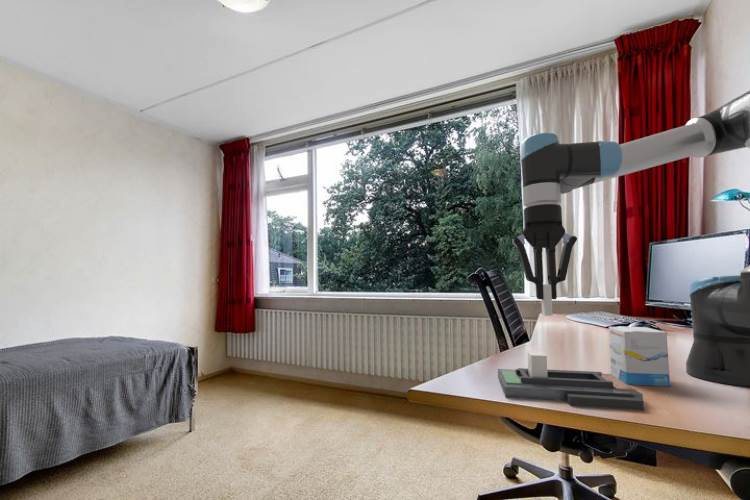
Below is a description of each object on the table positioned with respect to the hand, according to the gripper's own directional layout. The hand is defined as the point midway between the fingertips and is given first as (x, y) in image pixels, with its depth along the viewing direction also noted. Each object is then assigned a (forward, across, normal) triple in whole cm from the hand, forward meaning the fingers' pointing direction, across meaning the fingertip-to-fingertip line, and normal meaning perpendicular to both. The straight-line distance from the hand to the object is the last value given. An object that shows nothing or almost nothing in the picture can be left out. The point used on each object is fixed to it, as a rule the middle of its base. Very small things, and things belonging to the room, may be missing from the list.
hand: (547, 314), depth 78 cm
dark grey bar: (+16, -7, +9) cm, 19 cm away
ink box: (+16, -21, -11) cm, 29 cm away
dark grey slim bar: (+16, -4, -10) cm, 19 cm away
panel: (+16, -2, 0) cm, 16 cm away
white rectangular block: (+13, +2, 0) cm, 13 cm away
